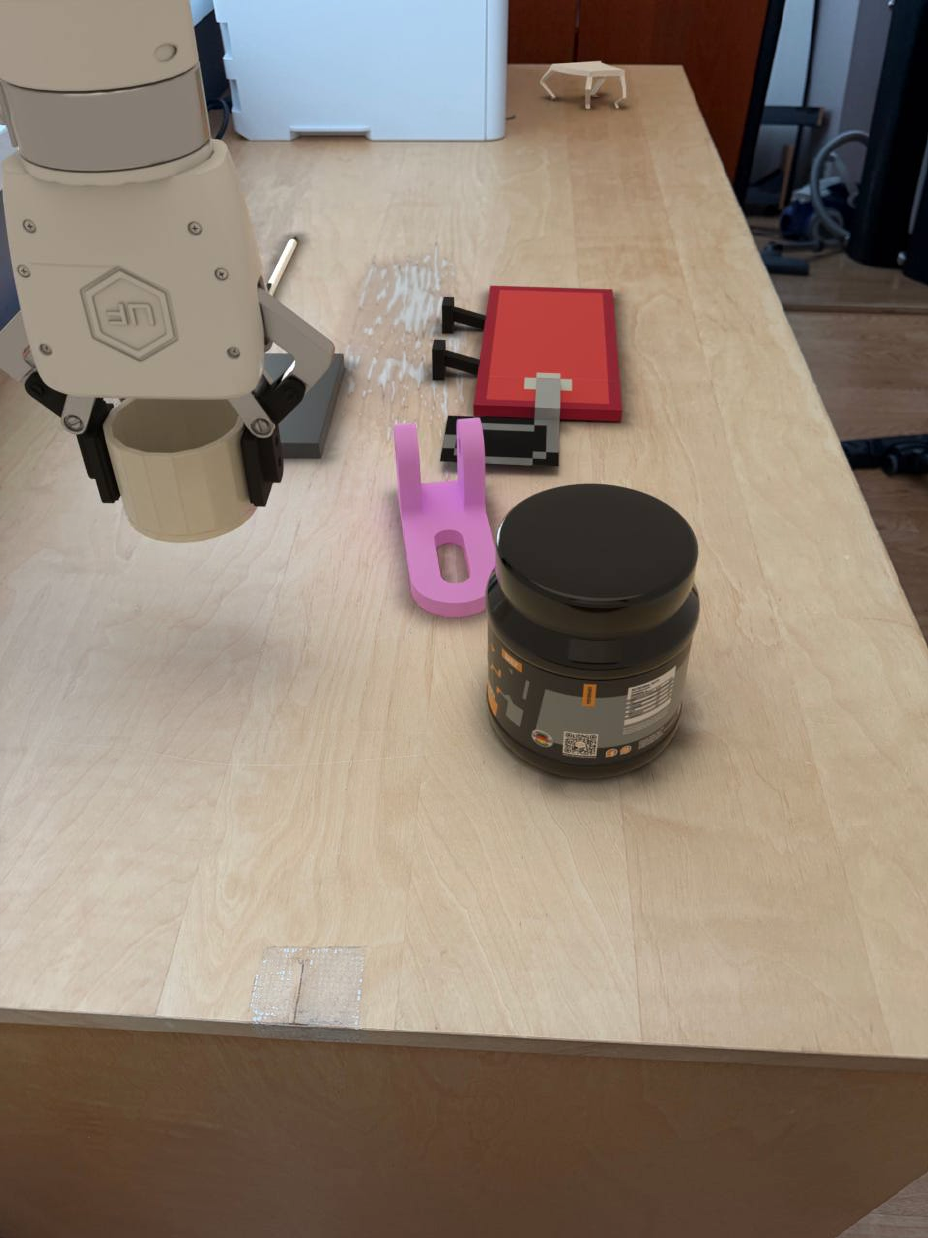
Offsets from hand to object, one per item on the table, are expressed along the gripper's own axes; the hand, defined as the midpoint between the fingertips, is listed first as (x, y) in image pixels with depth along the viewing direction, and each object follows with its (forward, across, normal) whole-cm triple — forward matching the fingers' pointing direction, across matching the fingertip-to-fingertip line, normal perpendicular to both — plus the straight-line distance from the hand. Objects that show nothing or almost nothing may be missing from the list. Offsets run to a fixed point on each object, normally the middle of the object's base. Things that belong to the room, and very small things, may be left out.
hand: (190, 487), depth 53 cm
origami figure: (+12, +26, +112) cm, 115 cm away
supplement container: (+12, +20, -4) cm, 24 cm away
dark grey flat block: (+12, -6, +28) cm, 31 cm away
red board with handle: (+12, +18, +34) cm, 40 cm away
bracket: (+12, +13, +10) cm, 20 cm away
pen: (+13, -6, +54) cm, 56 cm away
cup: (+1, 0, 0) cm, 1 cm away
